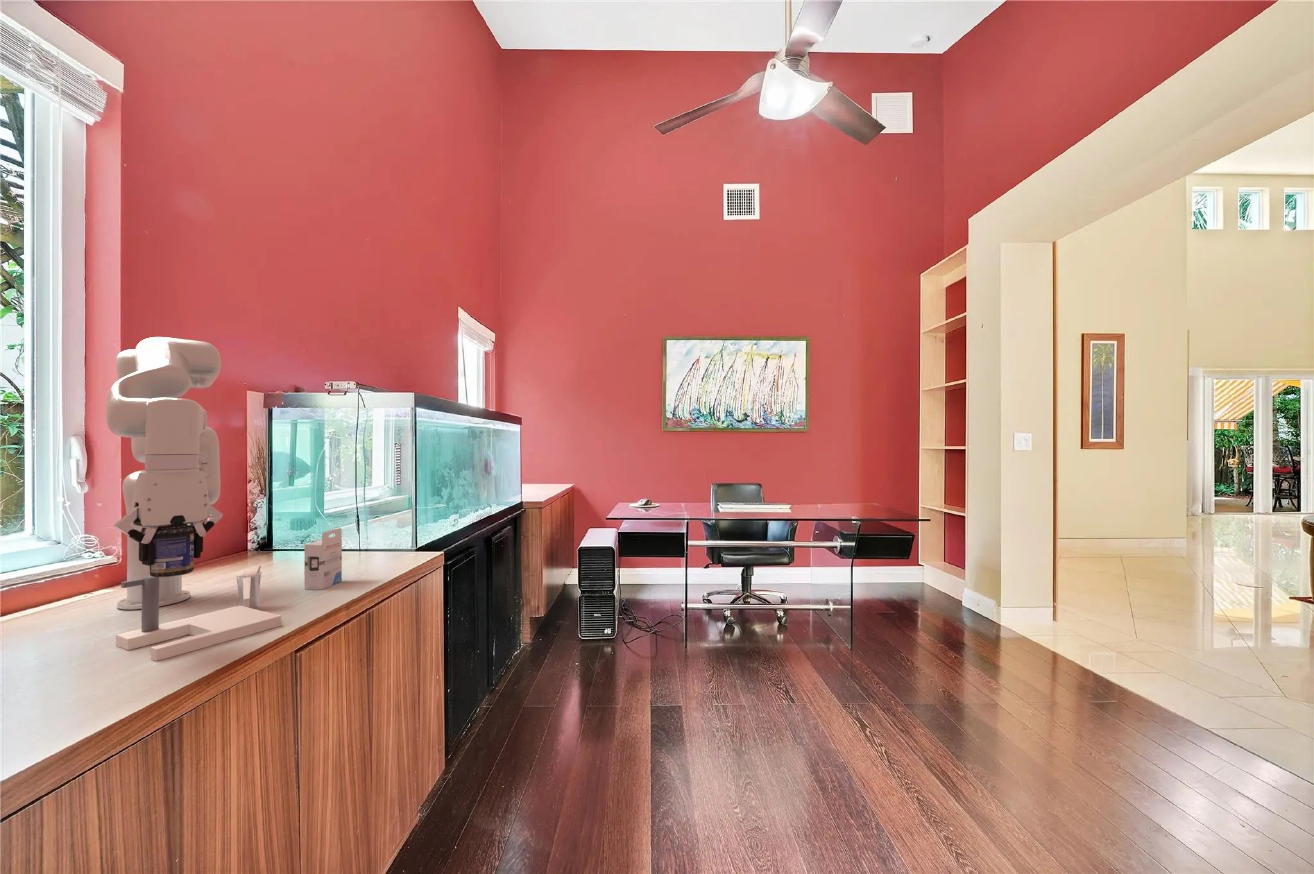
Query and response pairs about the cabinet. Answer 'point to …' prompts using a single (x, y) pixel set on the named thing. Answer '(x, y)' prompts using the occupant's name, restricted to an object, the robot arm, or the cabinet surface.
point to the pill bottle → (173, 549)
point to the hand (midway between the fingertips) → (171, 560)
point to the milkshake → (249, 587)
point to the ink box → (323, 561)
